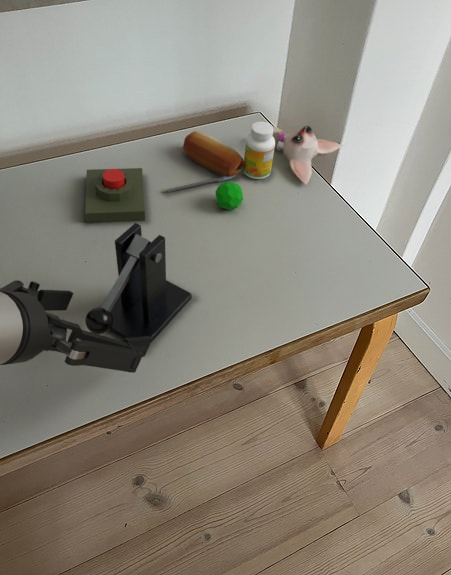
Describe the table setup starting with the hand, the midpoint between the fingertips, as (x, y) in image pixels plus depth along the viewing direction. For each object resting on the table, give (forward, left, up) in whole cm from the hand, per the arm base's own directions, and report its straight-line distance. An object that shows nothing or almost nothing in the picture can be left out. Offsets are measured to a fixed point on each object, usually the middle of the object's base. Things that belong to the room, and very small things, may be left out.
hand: (106, 322), depth 78 cm
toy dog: (-48, +30, -1) cm, 57 cm away
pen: (-35, +17, -5) cm, 39 cm away
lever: (-3, +3, +3) cm, 5 cm away
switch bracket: (-6, +5, -5) cm, 9 cm away
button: (-32, +1, -2) cm, 32 cm away
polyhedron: (-29, +21, -5) cm, 36 cm away
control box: (-32, +1, -5) cm, 33 cm away
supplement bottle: (-39, +28, -5) cm, 48 cm away
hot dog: (-40, +18, -3) cm, 43 cm away
